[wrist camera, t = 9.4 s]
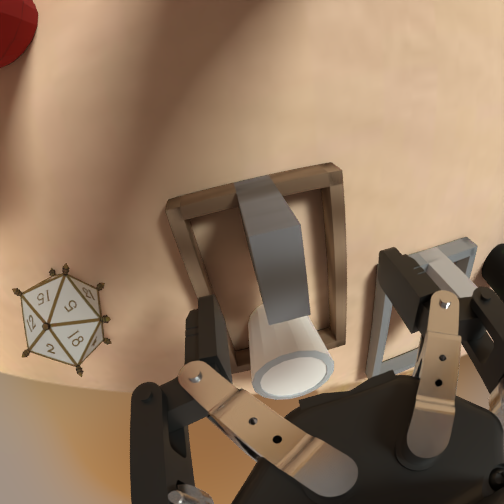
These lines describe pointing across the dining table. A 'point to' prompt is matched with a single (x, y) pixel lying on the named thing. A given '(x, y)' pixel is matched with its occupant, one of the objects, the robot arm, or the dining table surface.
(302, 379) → the white cylinder
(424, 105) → the dining table surface
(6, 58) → the plastic cup
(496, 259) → the cup
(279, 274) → the wooden picture frame
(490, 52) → the dining table surface
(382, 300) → the grey hollow rectangular frame
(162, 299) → the dining table surface
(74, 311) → the game die
